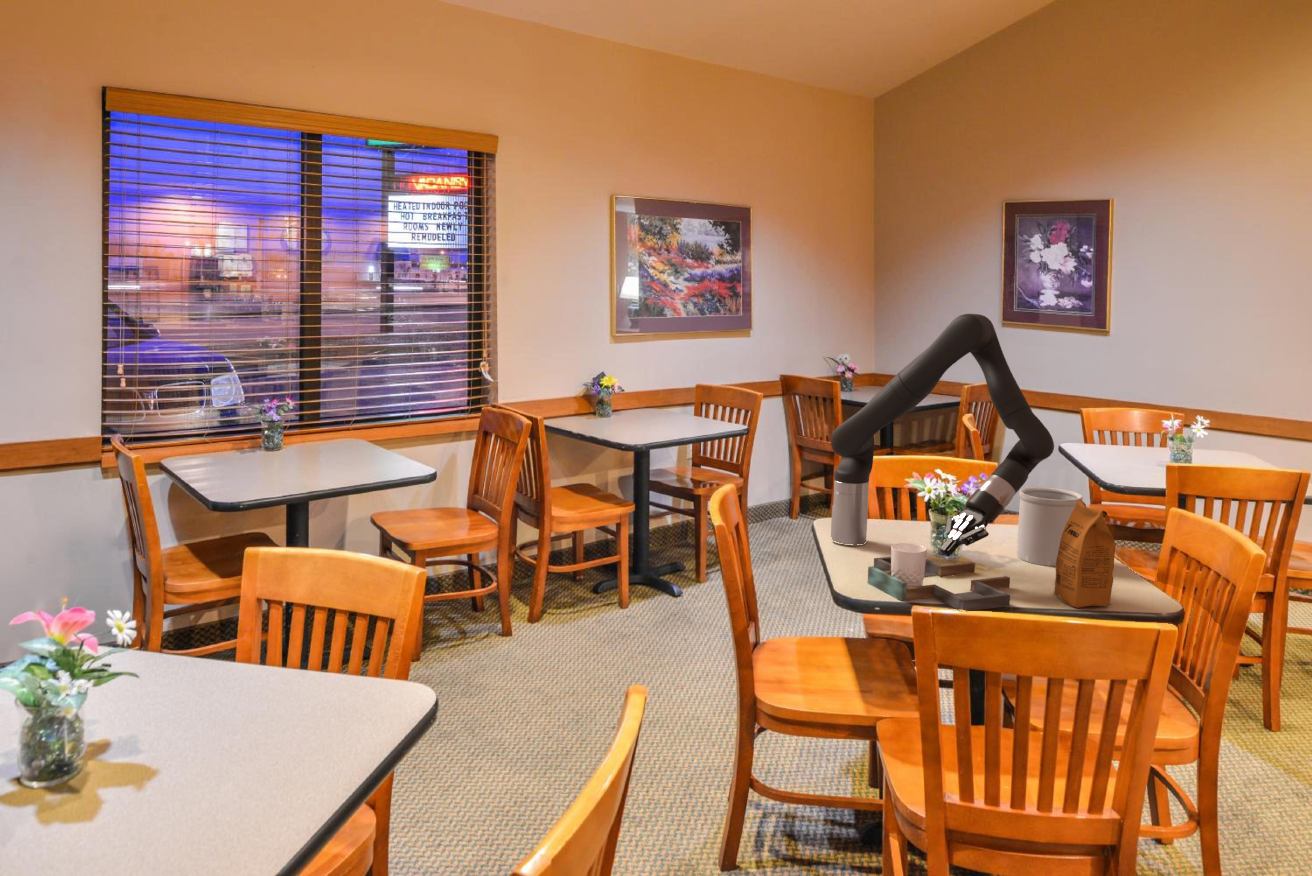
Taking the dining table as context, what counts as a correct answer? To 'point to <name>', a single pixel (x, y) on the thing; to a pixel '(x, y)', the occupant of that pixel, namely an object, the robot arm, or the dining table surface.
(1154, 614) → the dining table surface
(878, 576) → the grey compartment tray
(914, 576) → the white cup
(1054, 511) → the utensil holder
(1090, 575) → the coffee package
